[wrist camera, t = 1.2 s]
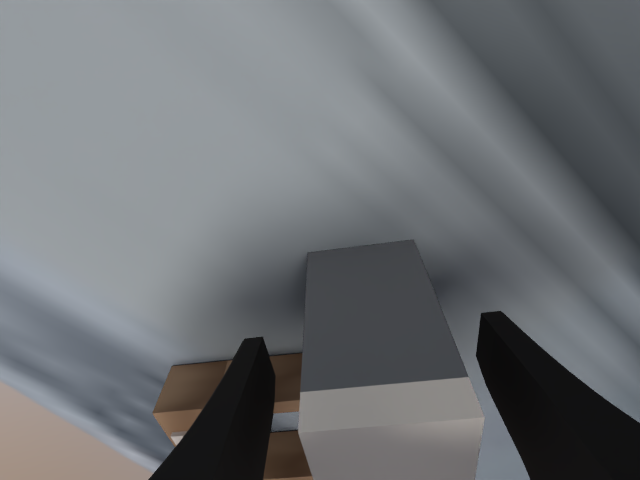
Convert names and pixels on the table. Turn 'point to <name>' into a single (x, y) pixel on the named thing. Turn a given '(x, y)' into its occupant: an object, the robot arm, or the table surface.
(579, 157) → the table surface
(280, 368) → the socket board
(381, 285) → the plug
